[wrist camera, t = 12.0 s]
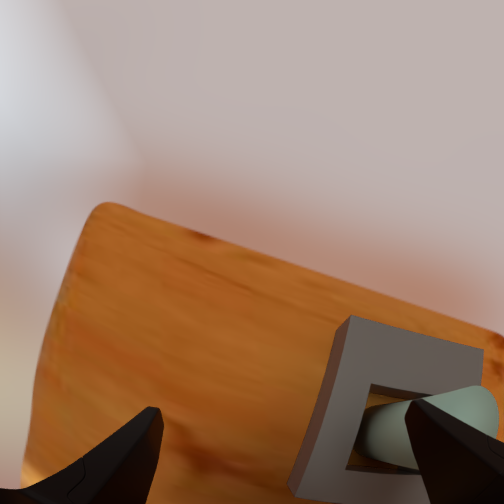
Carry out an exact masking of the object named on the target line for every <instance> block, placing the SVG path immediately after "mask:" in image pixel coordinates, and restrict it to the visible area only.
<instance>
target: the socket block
mask: <svg viewBox="0 0 504 504" xmlns="http://www.w3.org/2000/svg"><path fill="white" fill-rule="evenodd" d="M483 353H484V350H483V349H479V348H475V347H471V346H466V345H462V344H458V343H454V342H450V341H446V340H442V339H438V338H434V337H430V336H427V335H423V334H419V333H415V332H411V331H408V330H404V329H400V328H396V327H393V326H389V325H385V324H382V323H378V322H375V321H371V320H367V319H364V318H360V317H357V316H353V315H350V317H349V318H348V319H347V320H346V321H345V322H344V323H343V324H342V325H341V326H340V327H339V328H338V329H337V330H336V334H335V338H334V342H333V346H332V350H331V353H330V357H329V361H328V365H327V368H326V372H325V375H324V379H323V382H322V386H321V389H320V392H319V396H318V399H317V402H316V405H315V408H314V411H313V414H312V417H311V420H310V423H309V426H308V429H307V432H306V435H305V438H304V441H303V443H302V446H301V449H300V451H299V454H298V457H297V459H296V462H295V465H294V467H293V470H292V472H291V475H290V477H289V479H288V482H287V485H288V487H289V489H290V490H291V492H292V494H293V496H294V497H297V498H303V499H309V500H315V501H322V502H330V503H339V504H430V501H429V498H428V494H427V491H426V488H425V485H424V483H423V480H422V477H421V474H420V471H419V470H418V469H413V468H408V467H404V466H398V469H385V468H373V467H364V466H356V465H348V464H347V463H348V460H349V457H350V454H351V451H352V448H353V445H354V442H355V439H356V436H357V433H358V430H359V426H360V423H361V419H362V416H363V412H364V409H365V405H366V401H367V397H368V394H369V392H370V393H375V394H380V395H386V396H391V397H396V398H402V399H408V400H414V399H419V398H424V397H429V396H434V395H438V394H443V393H447V392H451V391H455V390H459V389H462V388H466V387H470V386H481V378H482V368H483Z"/></svg>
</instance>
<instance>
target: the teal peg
mask: <svg viewBox="0 0 504 504" xmlns="http://www.w3.org/2000/svg"><path fill="white" fill-rule="evenodd" d="M422 399H424V400H426V401H427V402H429V403H431V404H433V405H434V406H436V407H438V408H440V409H441V410H443V411H445V412H447V413H449V414H450V415H452V416H454V417H456V418H457V419H459V420H461V421H463V422H465V423H467V424H468V425H470V426H472V427H474V428H476V429H478V430H479V431H481V432H483V433H485V434H486V435H489V436H491V437H493V438H495V439H496V436H497V432H498V426H499V412H498V406H497V403H496V401H495V398H494V397H493V395H492V394H491V393H490V391H488V390H487V389H486V388H484V387H482V386H470V387H466V388H462V389H459V390H455V391H451V392H447V393H443V394H438V395H434V396H429V397H424V398H422ZM414 400H415V399H414ZM411 401H412V400H408V401H403V402H396V403H390V404H383V405H375V406H371V407H369V408H367V409H365V410H364V412H363V416H362V419H361V423H360V426H359V430H358V433H357V436H356V439H355V442H354V445H353V448H354V450H355V451H356V452H357V453H358V454H360V455H362V456H364V457H368V458H371V459H375V460H379V461H383V462H387V463H391V464H395V465H399V466H404V467H408V468H413V469H418V470H419V468H418V465H417V463H416V460H415V457H414V454H413V451H412V448H411V444H410V440H409V436H408V432H407V428H406V424H405V420H404V417H405V413H406V411H407V409H408V407H409V404H410V402H411Z"/></svg>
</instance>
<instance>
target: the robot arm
mask: <svg viewBox="0 0 504 504" xmlns="http://www.w3.org/2000/svg"><path fill="white" fill-rule="evenodd" d="M404 420H405V424H406V428H407V432H408V436H409V440H410V444H411V448H412V451H413V454H414V457H415V460H416V463H417V465H418V468H419V471H420V474H421V477H422V480H423V483H424V485H425V488H426V491H427V494H428V498H429V501H430V504H504V443H503V442H501V441H499V440H497V439H495V438H493V437H491V436H489V435H486V434H485V433H483V432H481V431H479V430H478V429H476V428H474V427H472V426H470V425H468V424H467V423H465V422H463V421H461V420H459V419H457V418H456V417H454V416H452V415H450V414H449V413H447V412H445V411H443V410H441V409H440V408H438V407H436V406H434V405H433V404H431V403H429V402H427V401H426V400H424V399H422V398H419V399H415V400H412V401H411V402H410V404H409V407H408V409H407V411H406V413H405V417H404ZM163 430H164V422H163V418H162V414H161V411H160V409H159V408H157V407H150V406H149V407H147V408H145V409H144V410H143V411H141V412H140V413H139V414H138V415H136V416H135V417H134V418H133V419H131V420H130V421H129V422H127V423H126V424H125V425H124V426H122V427H121V428H120V429H118V430H117V431H116V432H115V433H113V434H112V435H111V436H109V437H108V438H107V439H105V440H104V441H103V442H101V443H100V444H99V445H97V446H96V447H95V448H93V449H92V450H90V451H89V452H88V453H86V454H85V455H84V456H83V458H82V457H81V458H79V459H78V460H77V461H75V462H74V463H72V464H71V465H69V466H68V467H66V468H65V469H63V470H61V471H59V472H57V473H56V474H54V475H52V476H50V477H48V478H46V479H44V480H42V481H40V482H38V483H36V484H34V485H31V486H29V487H27V488H23V489H3V488H0V504H145V503H146V500H147V497H148V494H149V490H150V487H151V484H152V481H153V477H154V474H155V471H156V468H157V464H158V459H159V453H160V447H161V441H162V436H163Z"/></svg>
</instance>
